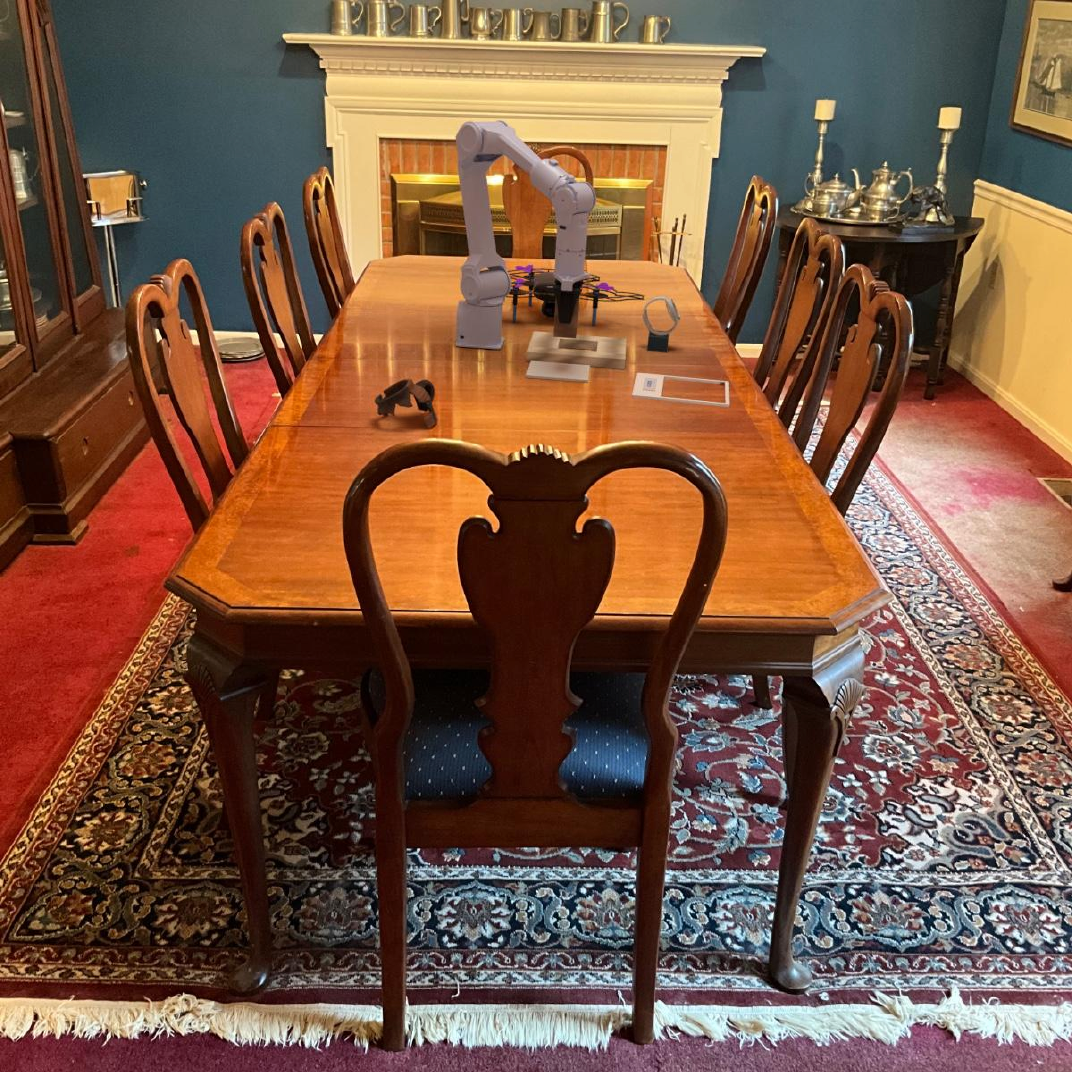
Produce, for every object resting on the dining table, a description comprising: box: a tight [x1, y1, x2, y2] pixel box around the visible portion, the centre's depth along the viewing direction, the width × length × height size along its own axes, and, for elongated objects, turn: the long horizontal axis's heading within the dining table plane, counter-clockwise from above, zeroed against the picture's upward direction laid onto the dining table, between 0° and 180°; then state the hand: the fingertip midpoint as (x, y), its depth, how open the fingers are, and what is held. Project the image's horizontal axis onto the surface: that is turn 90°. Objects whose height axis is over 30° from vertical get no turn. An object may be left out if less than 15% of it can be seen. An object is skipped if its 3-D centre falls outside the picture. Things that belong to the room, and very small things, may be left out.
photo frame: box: [631, 372, 730, 408], centre depth 204 cm, size 15×1×18 cm
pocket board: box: [525, 330, 627, 370], centre depth 222 cm, size 20×16×2 cm
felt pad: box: [525, 361, 591, 383], centre depth 210 cm, size 12×10×1 cm
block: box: [552, 295, 581, 338], centre depth 207 cm, size 4×4×8 cm
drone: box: [505, 264, 646, 327], centre depth 250 cm, size 40×10×28 cm
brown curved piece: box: [374, 378, 438, 430], centre depth 180 cm, size 12×10×8 cm
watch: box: [642, 295, 681, 353], centre depth 228 cm, size 6×8×11 cm
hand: (565, 319), depth 208 cm, fingers closed on block, 4 cm apart
